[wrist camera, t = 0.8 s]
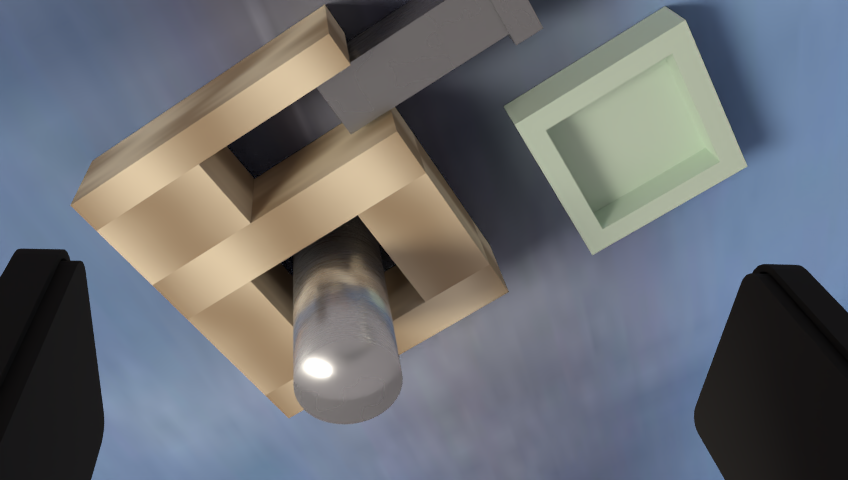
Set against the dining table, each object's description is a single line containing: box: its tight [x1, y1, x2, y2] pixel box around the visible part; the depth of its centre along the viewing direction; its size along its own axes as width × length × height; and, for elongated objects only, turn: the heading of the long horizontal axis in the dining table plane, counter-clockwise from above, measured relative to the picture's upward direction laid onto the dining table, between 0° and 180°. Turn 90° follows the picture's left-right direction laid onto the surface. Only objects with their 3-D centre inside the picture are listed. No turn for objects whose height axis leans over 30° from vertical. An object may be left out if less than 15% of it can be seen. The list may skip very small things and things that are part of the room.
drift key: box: [316, 0, 543, 134], centre depth 32 cm, size 9×3×3 cm, turn 121°
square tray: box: [504, 6, 747, 255], centre depth 36 cm, size 8×8×2 cm
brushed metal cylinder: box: [293, 215, 402, 424], centre depth 34 cm, size 4×4×10 cm
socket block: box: [71, 5, 509, 418], centre depth 35 cm, size 12×14×4 cm
